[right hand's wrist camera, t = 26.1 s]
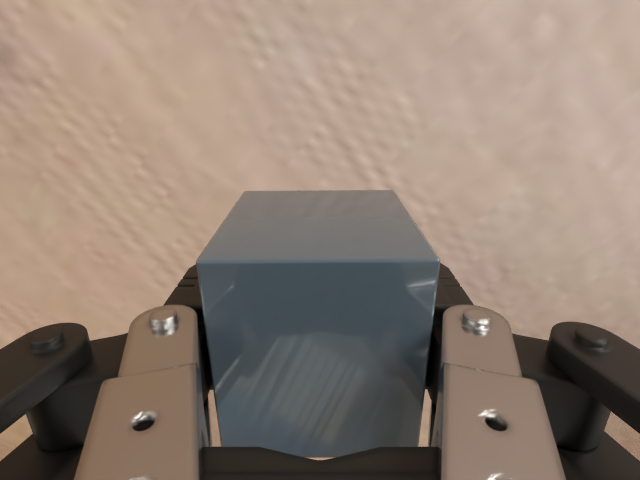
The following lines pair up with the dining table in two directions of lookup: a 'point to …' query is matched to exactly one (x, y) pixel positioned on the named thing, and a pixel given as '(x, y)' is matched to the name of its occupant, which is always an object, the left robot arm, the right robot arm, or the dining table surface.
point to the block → (318, 321)
